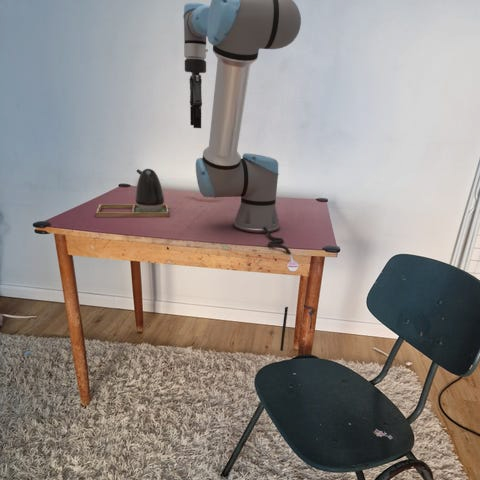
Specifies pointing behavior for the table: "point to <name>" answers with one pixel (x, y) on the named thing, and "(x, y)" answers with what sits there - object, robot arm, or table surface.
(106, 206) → the divided wooden tray
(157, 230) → the table surface
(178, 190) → the table surface
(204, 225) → the table surface
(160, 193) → the pump dispenser
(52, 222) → the table surface
